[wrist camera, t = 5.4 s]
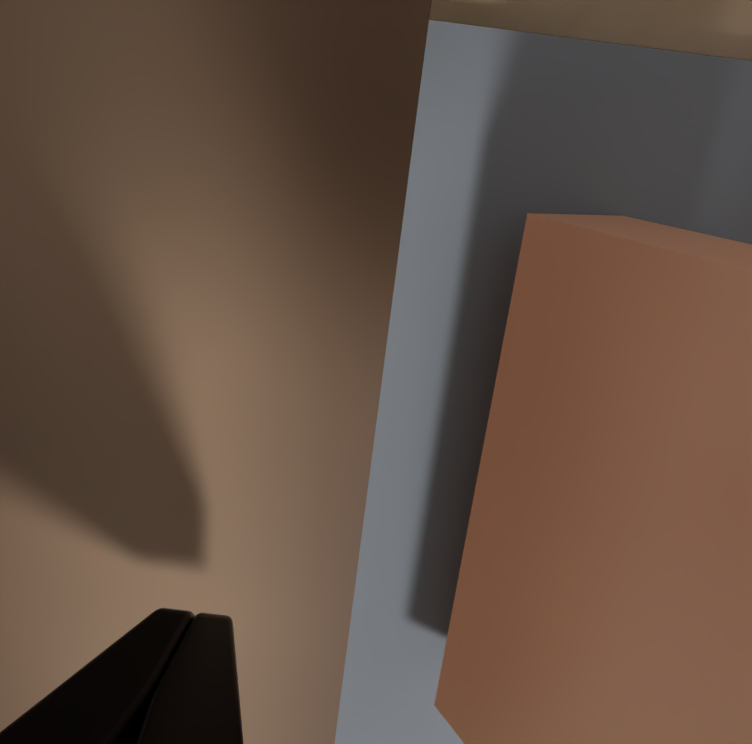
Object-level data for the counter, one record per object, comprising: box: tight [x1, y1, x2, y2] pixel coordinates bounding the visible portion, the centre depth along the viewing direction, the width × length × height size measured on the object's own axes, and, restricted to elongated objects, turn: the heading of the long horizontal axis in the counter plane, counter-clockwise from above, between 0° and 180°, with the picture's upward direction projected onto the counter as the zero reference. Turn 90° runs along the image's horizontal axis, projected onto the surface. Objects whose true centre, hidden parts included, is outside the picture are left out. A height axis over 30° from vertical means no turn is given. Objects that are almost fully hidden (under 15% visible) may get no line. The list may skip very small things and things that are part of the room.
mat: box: [335, 20, 752, 744], centre depth 12 cm, size 9×14×1 cm, turn 173°
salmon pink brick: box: [434, 213, 752, 744], centre depth 9 cm, size 6×9×2 cm
